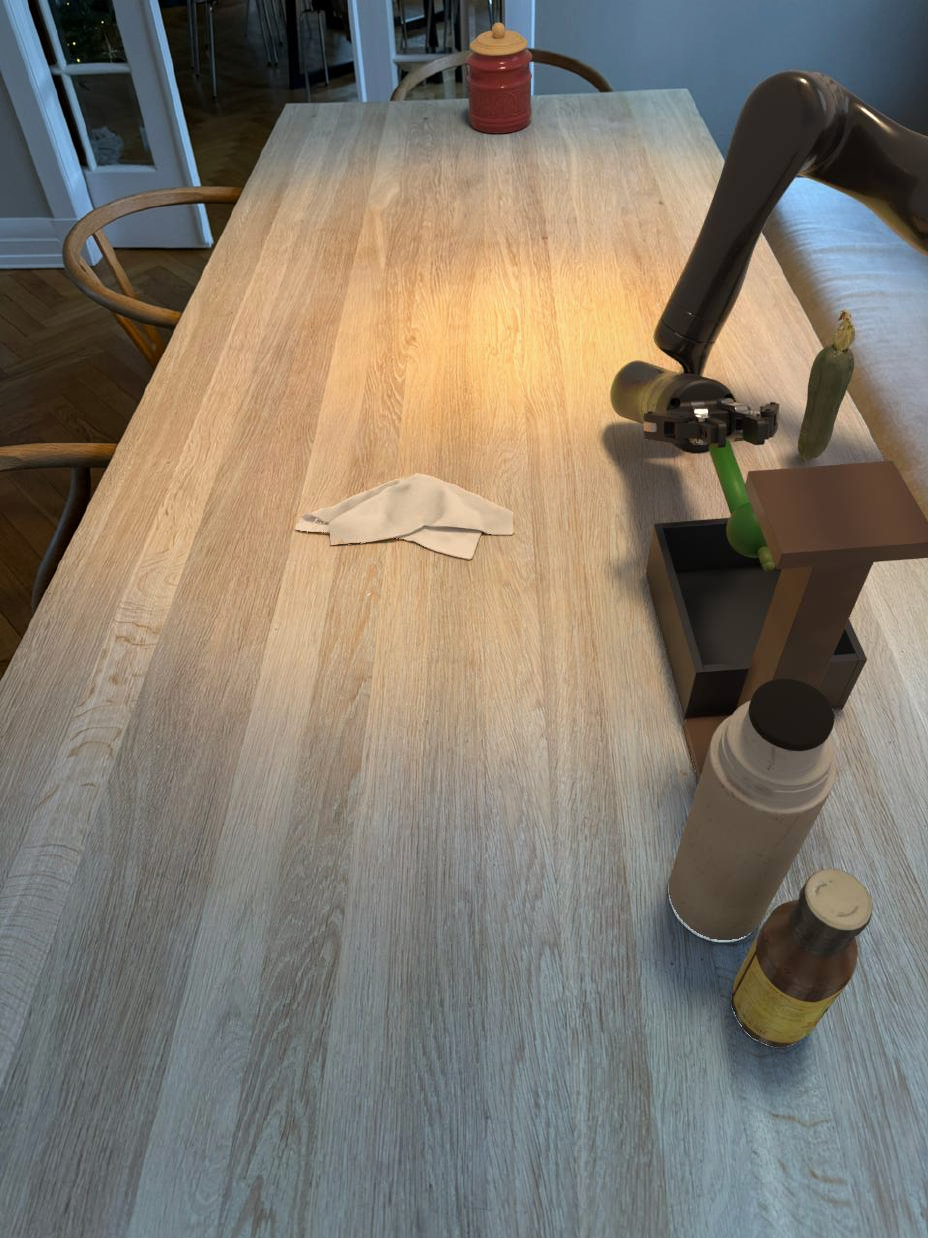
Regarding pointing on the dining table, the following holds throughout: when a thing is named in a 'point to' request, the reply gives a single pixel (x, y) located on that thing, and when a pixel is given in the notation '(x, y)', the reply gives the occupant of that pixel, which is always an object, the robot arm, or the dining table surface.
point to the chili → (740, 509)
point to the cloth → (414, 516)
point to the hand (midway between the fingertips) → (741, 434)
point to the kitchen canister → (499, 81)
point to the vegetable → (827, 390)
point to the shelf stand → (819, 565)
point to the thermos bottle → (753, 808)
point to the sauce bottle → (801, 959)
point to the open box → (722, 618)
